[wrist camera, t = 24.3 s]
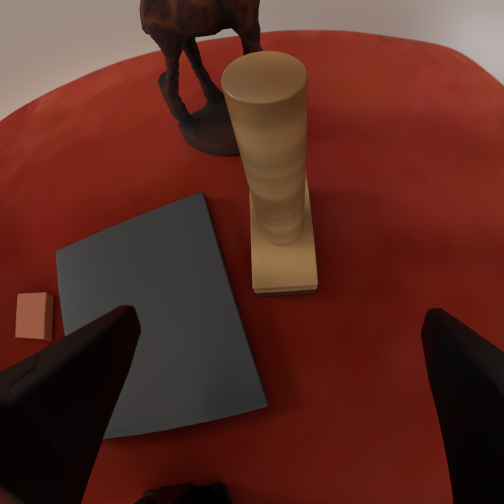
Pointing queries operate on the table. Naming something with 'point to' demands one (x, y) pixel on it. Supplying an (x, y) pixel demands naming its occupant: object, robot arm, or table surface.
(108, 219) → the table surface
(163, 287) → the board
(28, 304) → the block
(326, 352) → the table surface
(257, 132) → the tan wooden tall post
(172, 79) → the statue
